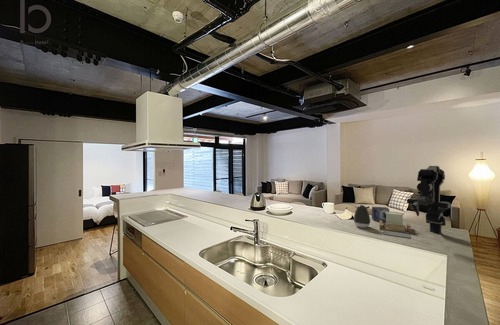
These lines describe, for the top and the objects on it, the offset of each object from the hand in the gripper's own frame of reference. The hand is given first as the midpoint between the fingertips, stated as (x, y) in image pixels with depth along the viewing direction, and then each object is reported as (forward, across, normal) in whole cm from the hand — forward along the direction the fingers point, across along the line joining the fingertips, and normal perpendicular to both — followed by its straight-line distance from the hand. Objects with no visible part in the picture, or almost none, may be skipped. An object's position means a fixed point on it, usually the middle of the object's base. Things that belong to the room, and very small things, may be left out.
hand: (427, 217), depth 120 cm
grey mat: (+13, -14, -6) cm, 20 cm away
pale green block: (+13, -21, +8) cm, 26 cm away
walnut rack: (+13, -20, +6) cm, 24 cm away
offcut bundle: (+13, -17, +1) cm, 22 cm away
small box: (+13, -34, +18) cm, 41 cm away
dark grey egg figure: (+13, -34, -7) cm, 37 cm away
